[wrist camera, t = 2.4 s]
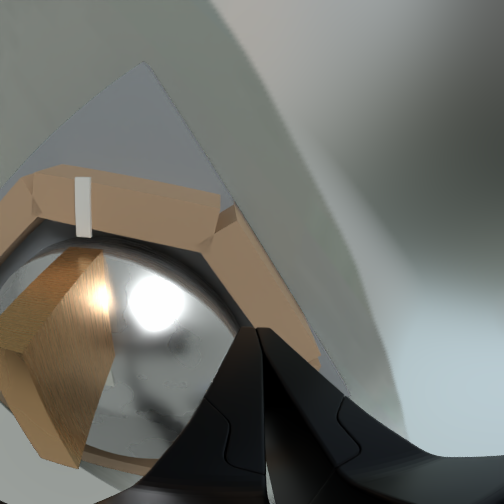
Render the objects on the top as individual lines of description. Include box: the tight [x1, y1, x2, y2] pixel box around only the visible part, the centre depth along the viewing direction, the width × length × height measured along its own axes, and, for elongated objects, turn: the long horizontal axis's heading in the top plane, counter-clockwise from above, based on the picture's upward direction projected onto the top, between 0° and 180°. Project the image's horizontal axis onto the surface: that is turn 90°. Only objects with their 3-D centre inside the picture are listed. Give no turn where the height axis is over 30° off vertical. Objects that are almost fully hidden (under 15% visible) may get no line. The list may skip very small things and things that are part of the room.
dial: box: [0, 236, 240, 469], centre depth 9 cm, size 12×12×7 cm
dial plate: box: [0, 61, 351, 476], centre depth 12 cm, size 18×16×3 cm
